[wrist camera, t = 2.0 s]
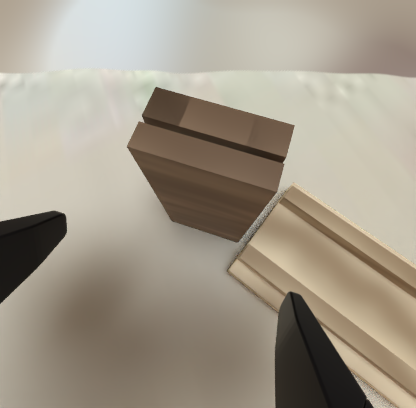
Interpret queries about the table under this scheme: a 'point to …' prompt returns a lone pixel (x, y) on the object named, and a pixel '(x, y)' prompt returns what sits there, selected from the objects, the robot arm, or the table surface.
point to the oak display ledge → (339, 288)
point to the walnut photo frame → (209, 161)
